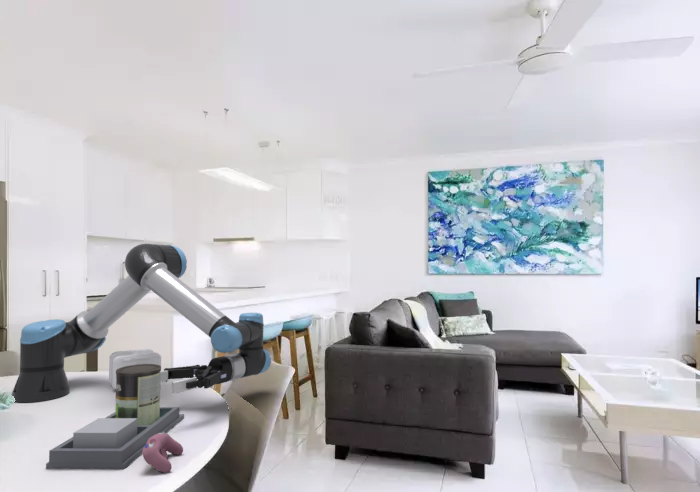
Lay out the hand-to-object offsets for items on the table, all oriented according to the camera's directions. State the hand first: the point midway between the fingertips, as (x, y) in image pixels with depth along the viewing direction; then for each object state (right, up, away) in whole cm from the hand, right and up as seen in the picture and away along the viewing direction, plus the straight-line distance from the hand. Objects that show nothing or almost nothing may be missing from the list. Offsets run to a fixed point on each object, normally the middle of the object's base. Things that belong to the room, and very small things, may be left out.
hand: (158, 384), depth 115 cm
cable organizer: (-24, -13, +38) cm, 47 cm away
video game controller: (+11, -9, -23) cm, 27 cm away
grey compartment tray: (-3, -10, -10) cm, 15 cm away
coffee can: (-3, -9, -4) cm, 11 cm away
